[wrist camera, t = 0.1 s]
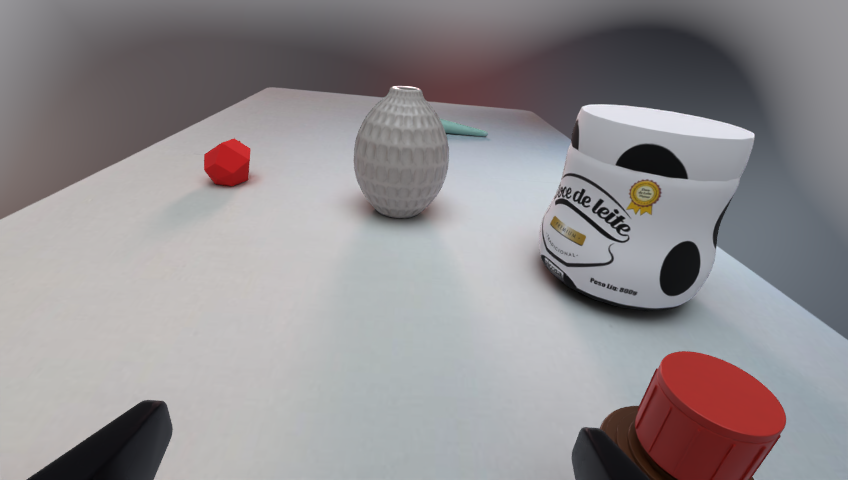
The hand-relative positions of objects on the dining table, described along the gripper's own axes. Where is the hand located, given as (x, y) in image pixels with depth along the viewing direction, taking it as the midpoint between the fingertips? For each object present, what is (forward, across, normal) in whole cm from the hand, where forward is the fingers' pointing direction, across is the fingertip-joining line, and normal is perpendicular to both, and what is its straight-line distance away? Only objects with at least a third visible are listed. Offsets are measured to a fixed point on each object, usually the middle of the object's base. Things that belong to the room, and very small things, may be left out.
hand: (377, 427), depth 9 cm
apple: (+56, +27, +16) cm, 64 cm away
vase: (+50, +1, +16) cm, 52 cm away
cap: (+5, -12, +6) cm, 14 cm away
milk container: (+35, -24, +16) cm, 45 cm away
